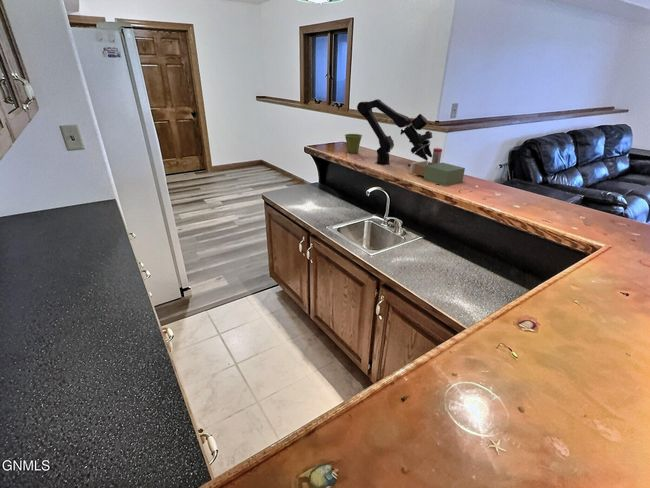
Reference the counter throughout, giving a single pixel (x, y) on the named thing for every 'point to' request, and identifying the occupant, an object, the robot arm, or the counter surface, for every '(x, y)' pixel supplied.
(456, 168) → the cabinet
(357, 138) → the plant pot
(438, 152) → the canister
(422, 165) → the drawer
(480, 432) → the counter surface
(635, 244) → the counter surface
